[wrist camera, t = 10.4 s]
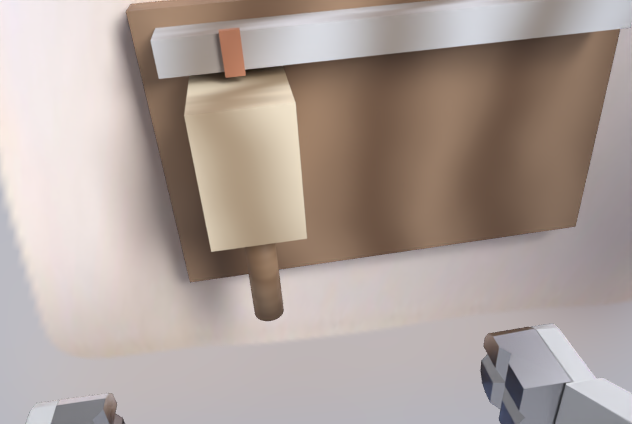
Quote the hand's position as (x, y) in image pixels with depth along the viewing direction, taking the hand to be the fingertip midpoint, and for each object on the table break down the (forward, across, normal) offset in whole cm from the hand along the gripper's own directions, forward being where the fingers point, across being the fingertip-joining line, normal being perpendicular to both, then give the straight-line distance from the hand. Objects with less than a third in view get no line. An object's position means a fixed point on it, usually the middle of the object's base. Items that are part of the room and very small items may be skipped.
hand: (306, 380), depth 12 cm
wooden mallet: (+16, +1, +3) cm, 16 cm away
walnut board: (+17, -6, +2) cm, 18 cm away
